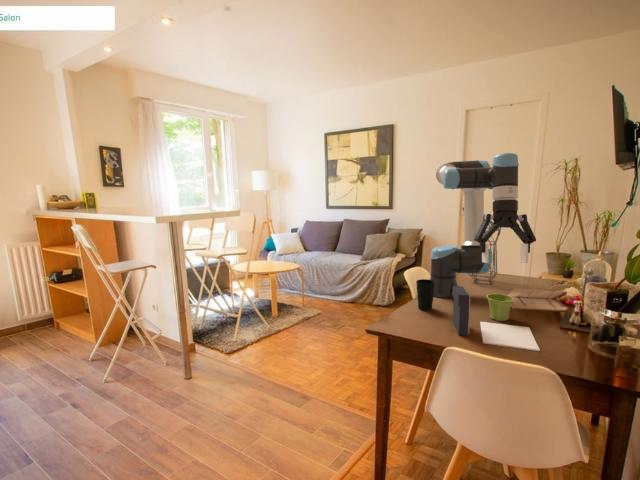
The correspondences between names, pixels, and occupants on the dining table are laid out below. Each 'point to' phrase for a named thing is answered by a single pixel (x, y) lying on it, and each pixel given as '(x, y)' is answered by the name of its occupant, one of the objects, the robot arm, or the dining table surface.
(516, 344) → the felt mat
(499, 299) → the plant pot
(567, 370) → the dining table surface
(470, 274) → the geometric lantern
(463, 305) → the dark navy block
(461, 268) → the robot arm
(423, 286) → the cup
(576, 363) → the dining table surface
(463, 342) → the dining table surface
